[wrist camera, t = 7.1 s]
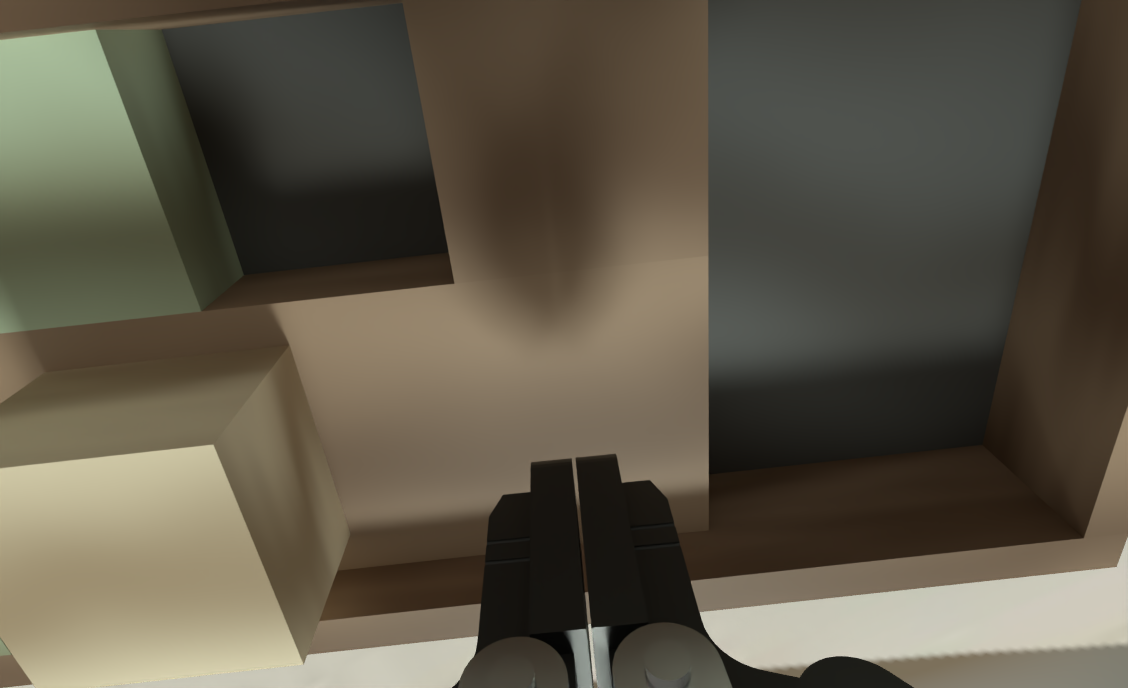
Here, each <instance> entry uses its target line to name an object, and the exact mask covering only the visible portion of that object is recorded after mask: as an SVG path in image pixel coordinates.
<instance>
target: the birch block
mask: <svg viewBox="0 0 1128 688" xmlns="http://www.w3.org/2000/svg"><path fill="white" fill-rule="evenodd" d="M349 537H350V531H349V528H348V525H347V522H346V519H345V516H344V513H343V509H342V506H341V503H340V500H339V497H338V494H337V491H336V488H335V485H334V481H333V478H332V475H331V472H330V469H329V466H328V463H327V460H326V457H325V453H324V450H323V447H322V444H321V441H320V438H319V435H318V432H317V429H316V425H315V422H314V419H313V416H312V413H311V410H310V407H309V404H308V401H307V398H306V394H305V391H304V388H303V385H302V382H301V379H300V376H299V373H298V370H297V366H296V363H295V360H294V357H293V354H292V351H291V348H290V345H285V346H276V347H267V348H258V349H249V350H240V351H232V352H223V353H214V354H205V355H196V356H187V357H178V358H169V359H160V360H151V361H142V362H133V363H124V364H115V365H106V366H98V367H89V368H80V369H71V370H62V371H53V372H45V373H43V374H42V375H40V376H39V377H37V378H36V379H35V380H33V381H32V382H30V383H29V384H28V385H26V386H25V387H23V388H22V389H20V390H19V391H18V392H16V393H15V394H13V395H12V396H10V397H9V398H8V399H6V400H5V401H3V402H2V403H1V404H0V638H1V639H2V641H3V642H4V643H5V645H6V646H7V648H8V649H9V651H10V652H11V653H12V655H13V656H14V658H15V659H16V661H17V662H18V664H19V665H20V666H21V668H22V669H23V671H24V672H25V674H26V675H27V676H28V678H29V679H30V681H31V682H32V684H33V685H34V687H35V688H95V687H104V686H113V685H122V684H131V683H141V682H150V681H159V680H168V679H177V678H186V677H195V676H204V675H213V674H222V673H231V672H240V671H250V670H259V669H268V668H277V667H286V666H295V665H304V662H305V659H306V656H307V654H308V651H309V648H310V645H311V642H312V640H313V637H314V634H315V631H316V629H317V626H318V623H319V620H320V617H321V615H322V612H323V609H324V606H325V603H326V601H327V598H328V595H329V592H330V589H331V587H332V584H333V581H334V578H335V576H336V573H337V570H338V567H339V564H340V562H341V559H342V556H343V553H344V550H345V548H346V545H347V542H348V539H349Z"/></svg>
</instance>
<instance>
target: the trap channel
mask: <svg viewBox="0 0 1128 688" xmlns="http://www.w3.org/2000/svg"><path fill="white" fill-rule="evenodd" d="M285 345H290V348H291V351H292V354H293V357H294V360H295V363H296V366H297V370H298V373H299V376H300V379H301V382H302V385H303V388H304V391H305V394H306V398H307V401H308V404H309V407H310V410H311V413H312V416H313V419H314V422H315V425H316V429H317V432H318V435H319V438H320V441H321V444H322V447H323V450H324V453H325V457H326V460H327V463H328V466H329V469H330V472H331V475H332V478H333V481H334V485H335V488H336V491H337V494H338V497H339V500H340V503H341V506H342V509H343V513H344V516H345V519H346V522H347V525H348V528H349V531H350V537H349V539H348V542H347V545H346V548H345V550H344V553H343V556H342V559H341V562H340V564H339V567H338V570H337V573H336V576H335V578H334V581H333V584H332V587H331V589H330V592H329V595H328V598H327V601H326V603H325V606H324V609H323V612H322V615H321V617H320V620H319V623H318V626H317V629H316V631H315V634H314V637H313V640H312V642H311V645H310V648H309V651H308V654H317V653H326V652H335V651H345V650H354V649H363V648H372V647H382V646H391V645H400V644H409V643H418V642H428V641H437V640H446V639H455V638H465V637H474V636H478V631H479V620H480V609H481V598H482V587H483V576H484V566H485V554H486V546H487V532H488V521H489V516H490V514H491V513H492V511H493V509H494V508H495V506H496V505H497V503H498V502H499V500H500V498H501V497H502V495H505V494H515V493H525V492H530V468H531V462H538V461H548V460H558V459H568V458H572V465H573V475H574V484H575V494H576V503H577V513H578V522H579V532H580V542H581V552H582V563H583V574H584V585H585V596H586V608H587V619H588V624H591V618H590V607H589V596H588V586H587V575H586V565H585V554H584V544H583V533H582V523H581V512H580V502H579V491H578V480H577V470H576V459H575V458H576V457H586V456H596V455H606V454H616V455H617V460H618V465H619V470H620V475H621V481H622V483H623V482H634V481H644V480H650V481H651V482H652V483H653V484H654V485H655V486H656V487H657V488H658V489H659V490H660V491H661V492H662V493H663V494H664V495H665V497H666V498H667V499H668V502H669V506H670V509H671V513H672V516H673V520H674V526H675V527H676V531H677V534H678V538H679V541H680V547H681V548H682V552H683V556H684V559H685V563H686V566H687V570H688V573H689V577H690V581H691V584H692V588H693V591H694V595H695V598H696V602H697V606H698V609H699V612H704V611H714V610H723V609H732V608H741V607H751V606H760V605H769V604H778V603H787V602H797V601H806V600H815V599H824V598H834V597H843V596H852V595H861V594H870V593H880V592H889V591H898V590H907V589H917V588H926V587H935V586H944V585H954V584H963V583H972V582H981V581H990V580H1000V579H1009V578H1018V577H1027V576H1037V575H1046V574H1055V573H1064V572H1073V571H1083V570H1092V569H1101V568H1110V567H1117V564H1118V561H1119V559H1120V556H1121V553H1122V550H1123V548H1124V545H1125V542H1126V540H1127V537H1128V0H0V404H1V403H2V402H3V401H5V400H6V399H8V398H9V397H10V396H12V395H13V394H15V393H16V392H18V391H19V390H20V389H22V388H23V387H25V386H26V385H28V384H29V383H30V382H32V381H33V380H35V379H36V378H37V377H39V376H40V375H42V374H43V373H45V372H53V371H62V370H71V369H80V368H89V367H98V366H106V365H115V364H124V363H133V362H142V361H151V360H160V359H169V358H178V357H187V356H196V355H205V354H214V353H223V352H232V351H240V350H249V349H258V348H267V347H276V346H285ZM308 654H307V655H308ZM31 684H32V682H31V681H30V679H29V678H28V676H27V675H26V674H25V672H24V671H23V669H22V668H21V666H20V665H19V664H18V662H17V661H16V659H15V658H14V656H13V655H12V653H11V652H10V651H9V649H8V648H7V646H6V645H5V643H4V642H3V641H2V639H1V638H0V688H3V687H13V686H22V685H31Z"/></svg>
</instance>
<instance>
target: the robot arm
mask: <svg viewBox="0 0 1128 688" xmlns="http://www.w3.org/2000/svg"><path fill="white" fill-rule="evenodd" d="M575 459H576V470H577V480H578V491H579V502H580V512H581V523H582V533H583V544H584V554H585V565H586V575H587V586H588V596H589V607H590V618H591V628H592V638H593V647H594V657H595V667H596V676H597V685H598V688H913V687H912V686H910V685H909V684H907V683H906V682H904V681H902V680H901V679H900V678H898V677H896V676H895V675H893V674H892V673H890V672H889V671H887V670H885V669H883V668H882V667H880V666H878V665H876V664H873V663H871V662H869V661H866V660H862V659H859V658H853V657H845V656H836V657H829V658H825V659H822V660H819V661H817V662H815V663H813V664H812V665H810V666H809V667H808V668H807V669H806V670H805V671H804V672H803V674H802V675H801V677H800V678H798V677H793V676H787V675H783V674H778V673H773V672H768V671H764V670H760V669H756V668H752V667H750V666H747V665H745V664H742V663H740V662H738V661H736V660H735V659H733V658H731V657H730V656H728V655H727V654H726V653H724V652H723V651H722V650H721V649H720V648H719V647H718V646H717V645H716V644H715V643H714V642H713V641H712V639H711V638H710V637H709V635H708V633H707V632H706V630H705V628H704V625H703V623H702V620H701V616H700V613H699V609H698V606H697V602H696V598H695V595H694V591H693V588H692V584H691V581H690V577H689V573H688V570H687V566H686V563H685V559H684V556H683V552H682V548H681V547H680V541H679V538H678V534H677V531H676V527H675V526H674V520H673V516H672V513H671V509H670V506H669V502H668V499H667V498H666V497H665V495H664V494H663V493H662V492H661V491H660V490H659V489H658V488H657V487H656V486H655V485H654V484H653V483H652V482H651V481H650V480H644V481H634V482H623V483H622V481H621V475H620V470H619V465H618V460H617V455H616V454H606V455H596V456H586V457H576V458H575ZM452 688H594V686H593V675H592V664H591V652H590V641H589V630H588V619H587V608H586V596H585V585H584V574H583V563H582V552H581V542H580V532H579V522H578V513H577V503H576V494H575V484H574V475H573V465H572V458H568V459H558V460H548V461H538V462H531V468H530V492H525V493H515V494H505V495H502V497H501V498H500V500H499V502H498V503H497V505H496V506H495V508H494V509H493V511H492V513H491V514H490V516H489V521H488V532H487V546H486V554H485V566H484V576H483V587H482V598H481V609H480V620H479V631H478V642H477V648H476V653H475V655H474V657H473V658H472V659H471V660H470V662H469V663H468V665H467V666H466V668H465V669H464V671H463V674H462V676H461V678H460V680H459V681H458V682H457V684H456V685H455V686H453V687H452Z"/></svg>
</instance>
